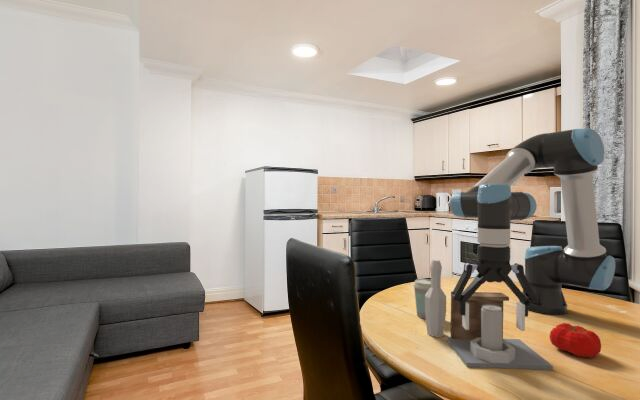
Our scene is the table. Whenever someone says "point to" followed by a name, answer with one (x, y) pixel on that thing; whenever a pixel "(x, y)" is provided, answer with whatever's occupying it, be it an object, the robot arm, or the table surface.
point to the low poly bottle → (435, 302)
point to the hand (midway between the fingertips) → (492, 328)
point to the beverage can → (491, 327)
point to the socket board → (498, 355)
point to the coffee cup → (421, 295)
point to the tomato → (575, 340)
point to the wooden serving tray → (474, 314)
